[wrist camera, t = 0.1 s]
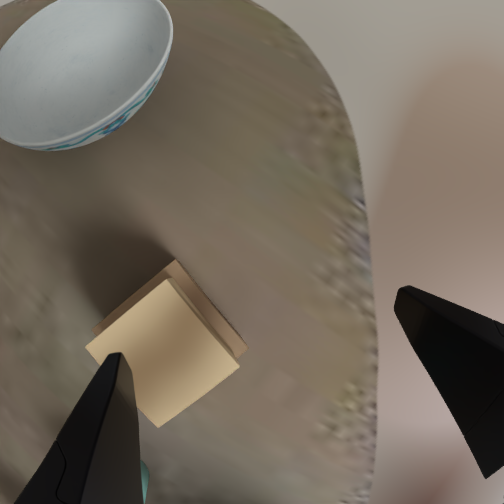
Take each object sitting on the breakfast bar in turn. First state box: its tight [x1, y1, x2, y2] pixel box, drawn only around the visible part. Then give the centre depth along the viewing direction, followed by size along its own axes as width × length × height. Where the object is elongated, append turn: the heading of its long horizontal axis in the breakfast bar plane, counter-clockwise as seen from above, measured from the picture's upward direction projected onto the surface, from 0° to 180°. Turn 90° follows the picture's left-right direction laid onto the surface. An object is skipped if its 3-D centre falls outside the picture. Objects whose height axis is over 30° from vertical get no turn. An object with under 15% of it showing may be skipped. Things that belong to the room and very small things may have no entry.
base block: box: [92, 259, 249, 359], centre depth 21 cm, size 8×8×4 cm
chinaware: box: [0, 0, 173, 151], centre depth 19 cm, size 15×15×8 cm
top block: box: [86, 278, 240, 428], centre depth 17 cm, size 6×6×4 cm
